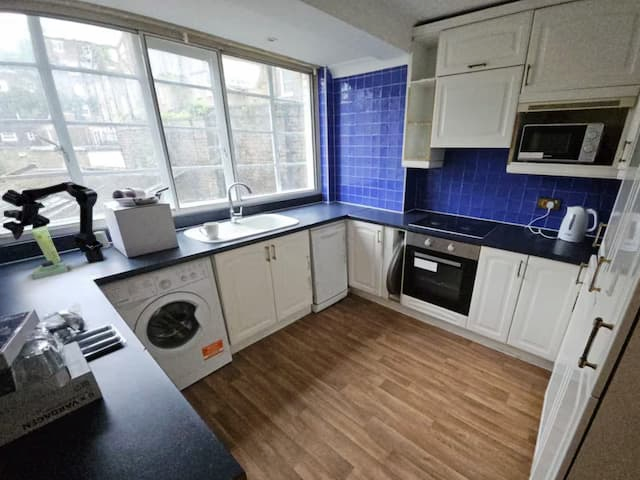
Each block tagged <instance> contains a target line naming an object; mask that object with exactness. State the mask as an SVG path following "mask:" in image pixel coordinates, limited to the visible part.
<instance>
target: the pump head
mask: <svg viewBox="0 0 640 480" xmlns="http://www.w3.org/2000/svg"><path fill="white" fill-rule="evenodd" d="M40 265H42V266H43V267H47V266H51V265H54V264H53V262H52V261H47V260H46V261H42V262H40Z"/></svg>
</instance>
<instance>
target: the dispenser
mask: <svg viewBox="0 0 640 480" xmlns="http://www.w3.org/2000/svg"><path fill="white" fill-rule="evenodd" d="M53 264H54V265H51V266H47V267H43V266H42V264H40V265H38V266H37V268H33V269H32V276H33V278H34V279H35V280H36V279H41V278H45V277H50V276H54V275H58V274H62V273H63V274H64V273H67V272H69V269H68V266H67V264H66V262H61V263H59V262H56V263H55V262H54V263H53Z"/></svg>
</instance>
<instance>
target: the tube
mask: <svg viewBox="0 0 640 480" xmlns="http://www.w3.org/2000/svg"><path fill="white" fill-rule="evenodd" d="M47 226H48V225H46V226H43V227H39V228H36V229H32V228H31V229H30V230H29V231H30V233H31V235H32V236H33V238H34V239H35V241H36V242H37V244H38V246H39V248H40V250H41V251H42V253H43V256H44V257H45V259H46V261H52V262H53V263H54V262H55V263H59V262H61V258H60V256H59V253H58V251H57V249H56V247H55V244H54V241H53V240H52V237H51V234H50V232H49V228H48V227H47Z"/></svg>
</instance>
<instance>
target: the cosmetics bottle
mask: <svg viewBox="0 0 640 480" xmlns="http://www.w3.org/2000/svg"><path fill="white" fill-rule="evenodd" d="M93 233H94V235H95V236H96V240H98V241H100V242H101V243H103V247H102V248H101V250H104V249H109V248H110V247H111V244H110V241H109V239H108V236H107V234H106V231H105V230H97V231H95V232H93Z"/></svg>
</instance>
